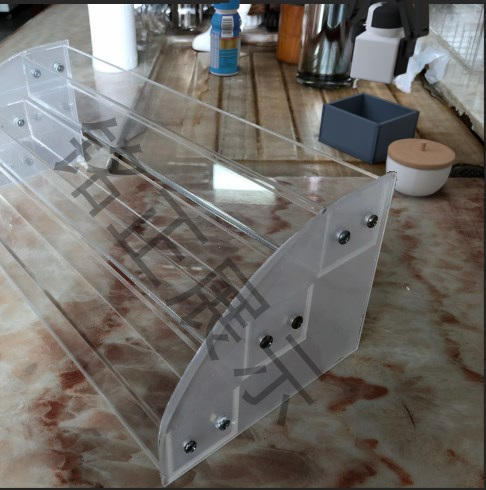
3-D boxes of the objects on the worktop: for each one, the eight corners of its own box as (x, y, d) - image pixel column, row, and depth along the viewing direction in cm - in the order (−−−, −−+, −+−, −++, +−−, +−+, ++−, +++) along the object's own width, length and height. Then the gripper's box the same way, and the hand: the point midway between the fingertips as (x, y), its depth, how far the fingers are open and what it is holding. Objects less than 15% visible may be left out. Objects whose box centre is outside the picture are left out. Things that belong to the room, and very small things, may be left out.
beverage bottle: (203, 73, 164) (204, -4, 153) (220, 65, 169) (223, -10, 158) (228, 79, 159) (231, -1, 148) (245, 71, 164) (250, -6, 153)
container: (402, 73, 115) (416, 2, 108) (390, 84, 110) (404, 10, 102) (362, 67, 119) (374, -2, 111) (349, 78, 113) (360, 6, 106)
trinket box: (446, 183, 108) (459, 134, 102) (442, 210, 99) (456, 159, 94) (384, 173, 111) (394, 125, 106) (376, 198, 103) (386, 149, 98)
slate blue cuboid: (411, 149, 120) (371, 164, 114) (357, 127, 130) (317, 141, 124) (420, 111, 115) (378, 125, 110) (363, 91, 125) (322, 104, 120)
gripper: (335, -68, 107) (320, 57, 119) (445, -56, 91) (414, 86, 104) (364, -72, 110) (346, 51, 123) (474, -61, 95) (441, 78, 107)
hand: (377, 67), depth 113 cm, fingers closed on container, 9 cm apart
